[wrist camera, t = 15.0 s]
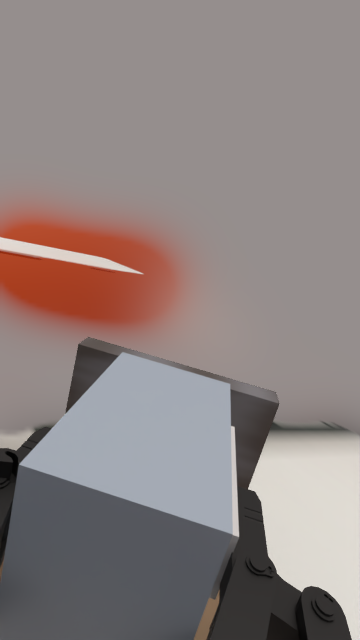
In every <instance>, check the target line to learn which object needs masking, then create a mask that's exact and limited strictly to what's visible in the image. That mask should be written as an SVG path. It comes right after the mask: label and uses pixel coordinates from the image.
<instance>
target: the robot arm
mask: <svg viewBox="0 0 360 640" xmlns="http://www.w3.org/2000/svg"><path fill="white" fill-rule="evenodd" d="M50 430H51V428H48V427H44V428H42V429H40V430H38V431H36V432H34V433H33V434H32V435H31V436H30V437H29V438H28V440H27V441H25V442H24V443H23V444H22V446H21V447H20V448H19V449H18V450H17V451H15V450H12V449H8V448H0V567H1V565H2V562H3V559H4V556H5V550H6V543H7V537H8V531H9V524H10V518H11V512H12V505H13V499H14V492H15V486H16V480H17V473H18V467H19V464H20V463H21V462H22V461H23V459H24V458H25V457H26V456H27V455H28V454H29V453H30V452H31V451H32V450H33V449H34V448H35V446H36V445H37V444H38V443H39V442H40V441H41V440H42V439H43V438H44V437H45V436H46V435H47V433H48V432H49V431H50ZM231 461H232V522H233V535H232V538H231V540H230V543H229V546H228V548H227V551H226V554H225V556H224V559H223V562H222V564H221V567H220V570H219V572H218V575H217V578H216V580H215V583H214V586H213V589H212V591H211V594H210V597H209V598H211V599H214V600H215V599H216V597H217V594H218V591H219V589H220V591H219V605H218V607H217V610H216V612H215V615H214V618H213V620H212V623H211V625H210V628H209V629H210V630H209V633H208V636H207V639H206V640H352V639H351V635H350V632H349V628H348V625H347V621H346V617H345V615H344V613H343V610H342V608H341V607H340V605H339V604H338V602H337V601H336V600H335V599H334V598H333V597H332V596H331V595H330V594H329V593H328V592H326V591H324V590H322V589H320V588H319V587H313V586H310V587H306V588H305V589H304V590H303V592H301V591H299V590H298V589H296V588H294V587H293V586H291V585H290V584H288V583H287V582H286V581H284V580H283V579H282V578H281V577H280V576H279V575H278V574H277V571H276V568H275V566H274V564H273V562H272V561H271V560H270V558H269V557H268V553H267V545H266V537H265V530H264V524H263V515H262V506H261V502H260V500H259V498H258V496H257V494H256V493H255V492H254V491H251V490H248V489H245V488H242V487H239V486H237V474H236V449H235V427H233V426H231Z"/></svg>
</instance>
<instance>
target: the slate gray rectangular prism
mask: <svg viewBox="0 0 360 640" xmlns="http://www.w3.org/2000/svg"><path fill="white" fill-rule="evenodd" d="M232 535H233V522H232V461H231V400H230V384H229V383H225V382H222V381H219V380H215V379H212V378H208V377H205V376H202V375H198V374H195V373H192V372H188V371H185V370H181V369H178V368H175V367H171V366H168V365H165V364H161V363H158V362H154V361H151V360H148V359H144V358H141V357H138V356H134V355H131V354H127V353H124V352H122V353H121V354H120V355H119V356H118V358H117V359H116V360H115V361H114V362H113V363H112V364H111V365H110V366H109V367H108V368H107V369H106V371H105V372H104V373H103V374H102V375H101V376H100V377H99V378H98V379H97V380H96V381H95V382H94V384H93V385H92V386H91V387H90V388H89V389H88V390H87V391H86V392H85V393H84V394H83V395H82V397H81V398H80V399H79V400H78V401H77V402H76V403H75V404H74V405H73V406H72V407H71V409H70V410H69V411H68V412H67V413H66V414H65V415H64V416H63V417H62V418H61V419H60V420H59V422H58V423H57V424H56V425H55V426H54V427H53V428H52V429H51V430H50V431H49V432H48V433H47V435H46V436H45V437H44V438H43V439H42V440H41V441H40V442H39V443H38V444H37V445H36V446H35V448H34V449H33V450H32V451H31V452H30V453H29V454H28V455H27V456H26V457H25V458H24V459H23V461H22V462H21V463H20V464H19V467H18V473H17V480H16V486H15V492H14V499H13V505H12V512H11V518H10V524H9V531H8V537H7V543H6V550H5V556H4V562H3V569H2V575H1V581H0V640H194V637H195V634H196V631H197V629H198V626H199V623H200V621H201V618H202V615H203V613H204V610H205V607H206V605H207V602H208V599H209V597H210V594H211V591H212V589H213V586H214V583H215V580H216V578H217V575H218V572H219V570H220V567H221V564H222V562H223V559H224V556H225V554H226V551H227V548H228V546H229V543H230V540H231V538H232Z"/></svg>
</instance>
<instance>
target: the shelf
mask: <svg viewBox="0 0 360 640" xmlns="http://www.w3.org/2000/svg"><path fill="white" fill-rule="evenodd" d="M122 352H124V353H127V354H131V355H134V356H138V357H141V358H144V359H148V360H151V361H154V362H158V363H161V364H165V365H168V366H171V367H175V368H178V369H181V370H185V371H188V372H192V373H195V374H198V375H202V376H205V377H208V378H212V379H215V380H219V381H222V382H225V383H229V384H230V400H231V426H233V427H235V449H236V474H237V486H239V487H242V488H245V489H248V487H249V484H250V482H251V479H252V476H253V473H254V471H255V468H256V465H257V463H258V460H259V457H260V455H261V452H262V449H263V447H264V444H265V441H266V438H267V436H268V433H269V430H270V428H271V425H272V422H273V420H274V417H275V414H276V411H277V409H278V406H279V401H278V398H277V394H276V392H274V391H270V390H267V389H264V388H260V387H257V386H253V385H250V384H247V383H243V382H239V381H236V380H233V379H230V378H226V377H223V376H219V375H216V374H213V373H209V372H206V371H203V370H199V369H196V368H192V367H189V366H185V365H182V364H179V363H175V362H172V361H169V360H165V359H162V358H158V357H155V356H151V355H148V354H145V353H141V352H138V351H134V350H131V349H127V348H124V347H121V346H117V345H114V344H110V343H107V342H104V341H100V340H97V339H94V338H90V337H88V338H86V339H85V340H84V341H82V342H81V343H80V344H78V350H77V356H76V361H75V366H74V371H73V376H72V381H71V387H70V392H69V397H68V402H67V408H66V413H67V412H68V411H69V410H70V409H71V407H72V406H73V405H74V404H75V403H76V402H77V401H78V400H79V399H80V398H81V397H82V395H83V394H84V393H85V392H86V391H87V390H88V389H89V388H90V387H91V386H92V385H93V384H94V382H95V381H96V380H97V379H98V378H99V377H100V376H101V375H102V374H103V373H104V372H105V371H106V369H107V368H108V367H109V366H110V365H111V364H112V363H113V362H114V361H115V360H116V359H117V358H118V356H119V355H120V354H121V353H122ZM66 413H65V414H66ZM3 562H4V559H3ZM3 562H2V565H1V567H0V581H1V575H2V569H3ZM219 591H220V589H219ZM219 591H218V594H217V597H216V599H215V600H214V599H211V598H209V599H208V602H207V605H206V607H205V610H204V613H203V615H202V618H201V621H200V623H199V626H198V629H197V631H196V634H195V637H194V640H206V639H207V636H208V633H209V630H210V629H209V628H210V625H211V623H212V620H213V618H214V615H215V612H216V610H217V607H218V605H219Z"/></svg>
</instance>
